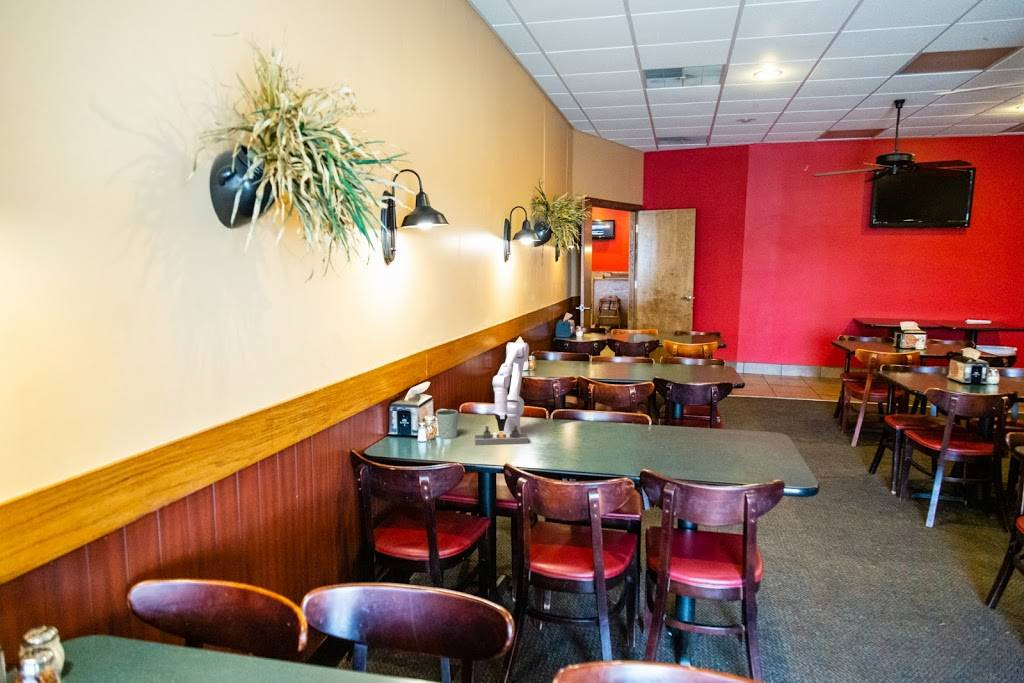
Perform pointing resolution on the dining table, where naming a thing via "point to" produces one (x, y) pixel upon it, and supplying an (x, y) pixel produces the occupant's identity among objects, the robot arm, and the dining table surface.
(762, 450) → the dining table surface
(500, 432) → the block
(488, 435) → the cord plug
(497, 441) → the strip
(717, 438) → the dining table surface
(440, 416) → the gray cup
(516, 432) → the cord plug
